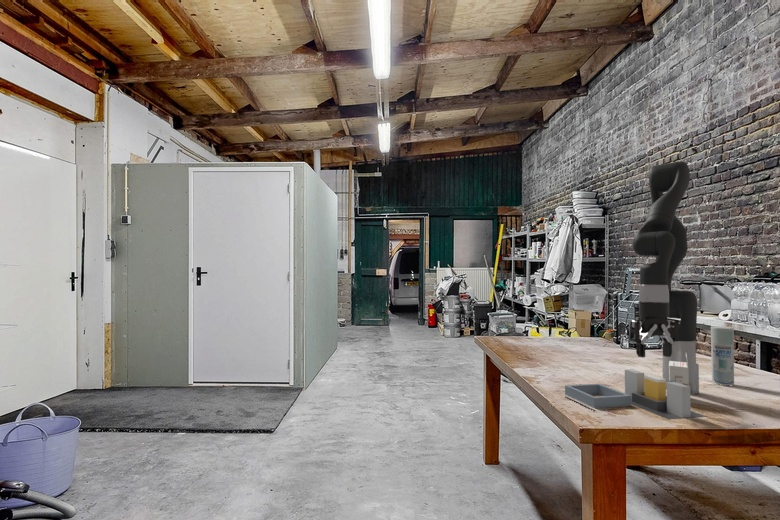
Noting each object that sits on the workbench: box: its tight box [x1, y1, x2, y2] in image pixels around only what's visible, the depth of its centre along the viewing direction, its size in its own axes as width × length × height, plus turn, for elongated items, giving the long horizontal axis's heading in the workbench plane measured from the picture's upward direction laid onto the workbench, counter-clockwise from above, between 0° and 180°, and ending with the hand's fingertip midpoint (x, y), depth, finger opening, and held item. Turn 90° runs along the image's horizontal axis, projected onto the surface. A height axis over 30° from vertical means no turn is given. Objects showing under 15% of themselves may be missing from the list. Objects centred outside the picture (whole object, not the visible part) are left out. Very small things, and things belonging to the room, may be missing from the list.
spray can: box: [710, 325, 735, 386], centre depth 155 cm, size 6×6×20 cm
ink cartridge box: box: [669, 353, 689, 386], centre depth 133 cm, size 9×5×15 cm, turn 148°
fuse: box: [644, 374, 667, 401], centre depth 126 cm, size 3×5×8 cm, turn 11°
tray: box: [564, 383, 632, 412], centre depth 132 cm, size 12×14×4 cm
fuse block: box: [624, 368, 708, 420], centre depth 126 cm, size 12×22×9 cm, turn 11°
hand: (654, 356), depth 127 cm, fingers open, 8 cm apart
